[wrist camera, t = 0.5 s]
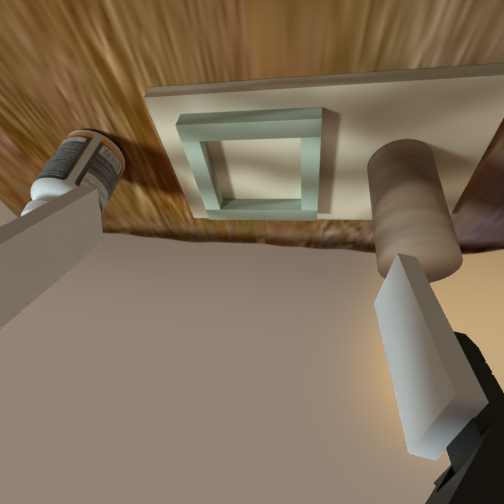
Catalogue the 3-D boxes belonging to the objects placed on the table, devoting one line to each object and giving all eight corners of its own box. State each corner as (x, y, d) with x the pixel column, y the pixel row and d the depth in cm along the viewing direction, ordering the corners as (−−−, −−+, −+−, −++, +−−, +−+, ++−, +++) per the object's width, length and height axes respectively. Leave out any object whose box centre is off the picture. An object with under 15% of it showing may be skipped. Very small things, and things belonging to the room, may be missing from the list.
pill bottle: (71, 162, 34) (20, 237, 28) (64, 116, 29) (2, 196, 24) (126, 181, 35) (88, 256, 29) (128, 140, 30) (84, 220, 25)
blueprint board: (149, 87, 26) (90, 189, 19) (519, 61, 21) (606, 186, 15) (196, 207, 37) (169, 297, 31) (444, 208, 32) (474, 315, 26)
